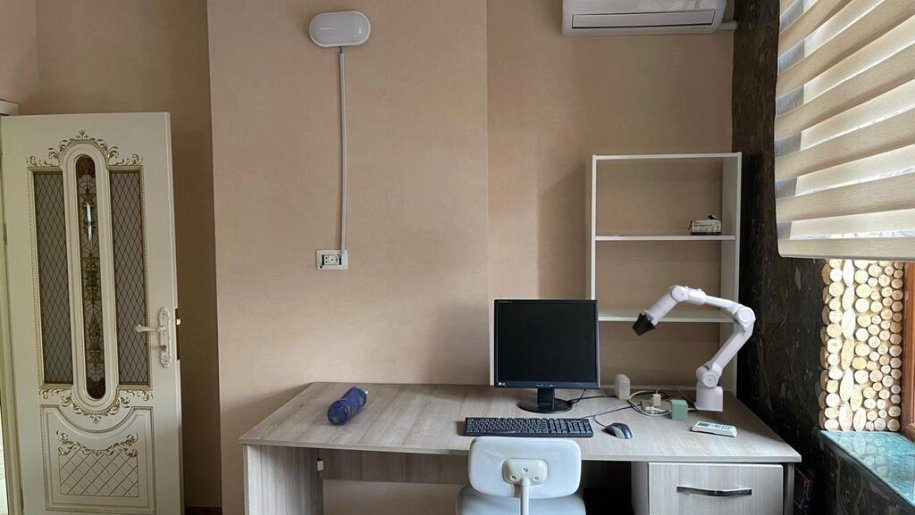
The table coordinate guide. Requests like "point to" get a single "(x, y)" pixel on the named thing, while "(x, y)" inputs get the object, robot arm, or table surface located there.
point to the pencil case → (346, 406)
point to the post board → (663, 405)
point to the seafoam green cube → (679, 410)
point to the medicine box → (622, 387)
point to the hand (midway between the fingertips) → (635, 331)
